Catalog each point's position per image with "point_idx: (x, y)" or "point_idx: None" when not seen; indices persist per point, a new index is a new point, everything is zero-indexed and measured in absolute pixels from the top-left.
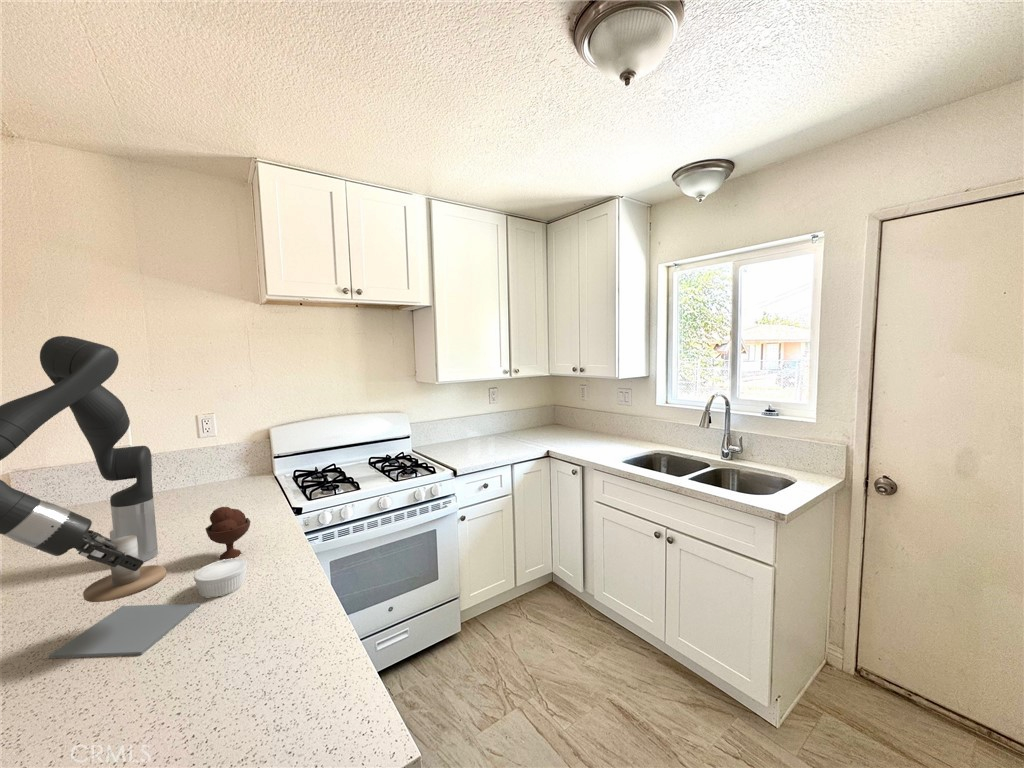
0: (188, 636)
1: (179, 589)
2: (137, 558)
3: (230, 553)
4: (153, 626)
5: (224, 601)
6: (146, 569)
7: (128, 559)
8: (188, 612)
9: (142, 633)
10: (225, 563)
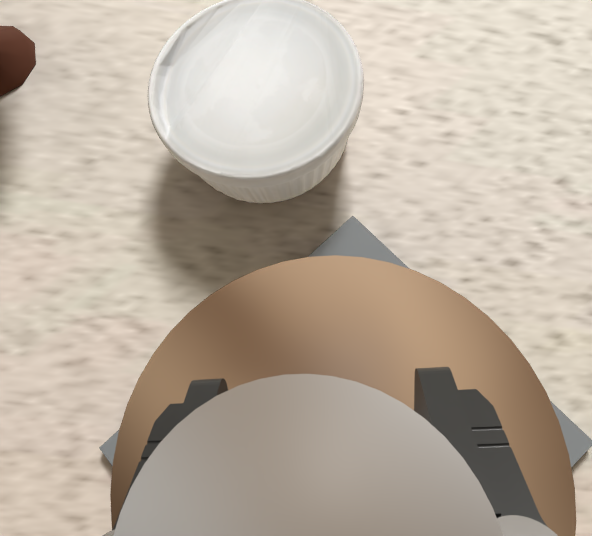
0: (573, 290)
1: (131, 253)
2: (439, 408)
3: (5, 52)
4: None
5: (391, 149)
6: (235, 347)
7: (532, 502)
8: (397, 259)
9: None
10: (185, 63)
